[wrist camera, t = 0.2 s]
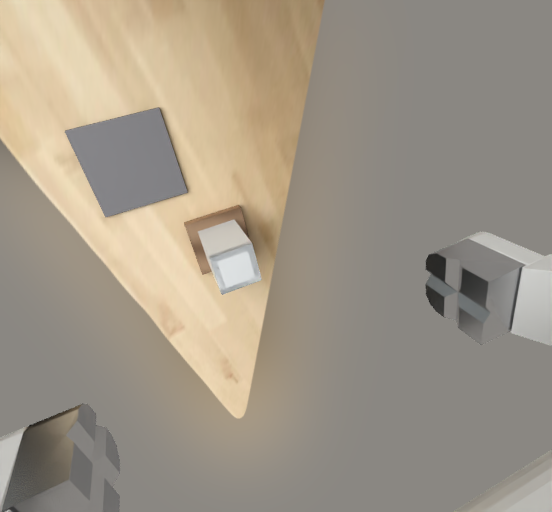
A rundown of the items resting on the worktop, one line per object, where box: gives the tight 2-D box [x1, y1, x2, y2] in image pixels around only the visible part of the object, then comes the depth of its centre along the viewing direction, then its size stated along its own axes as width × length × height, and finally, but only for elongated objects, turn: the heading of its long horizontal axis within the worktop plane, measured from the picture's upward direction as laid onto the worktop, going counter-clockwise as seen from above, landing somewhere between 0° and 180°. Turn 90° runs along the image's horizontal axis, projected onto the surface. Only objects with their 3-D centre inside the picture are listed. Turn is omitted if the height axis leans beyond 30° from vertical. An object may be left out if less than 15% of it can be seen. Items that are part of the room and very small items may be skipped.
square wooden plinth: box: [184, 205, 249, 274], centre depth 56 cm, size 9×9×6 cm
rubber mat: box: [65, 108, 188, 217], centre depth 49 cm, size 12×12×1 cm
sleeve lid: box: [198, 220, 262, 295], centre depth 53 cm, size 6×6×10 cm
